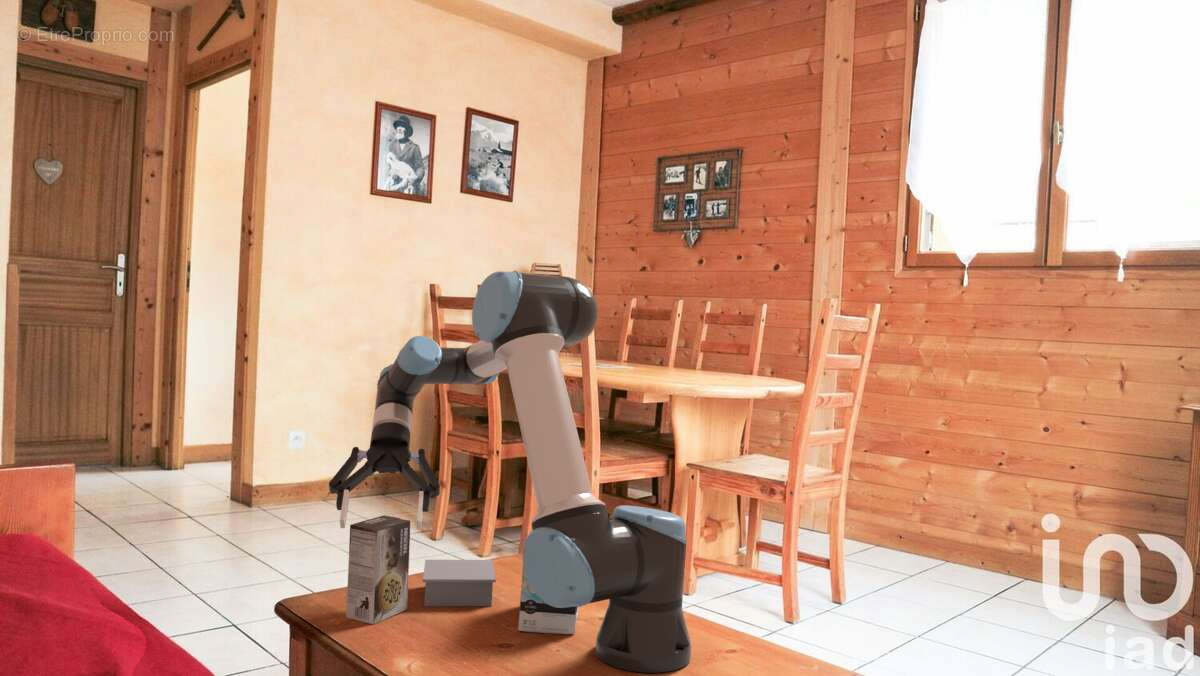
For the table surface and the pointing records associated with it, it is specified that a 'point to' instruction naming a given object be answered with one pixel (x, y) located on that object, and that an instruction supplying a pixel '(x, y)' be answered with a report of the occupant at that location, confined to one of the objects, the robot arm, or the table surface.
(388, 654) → the table surface
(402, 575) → the coffee box
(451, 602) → the grey plinth
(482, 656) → the table surface
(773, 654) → the table surface
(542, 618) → the tea box
